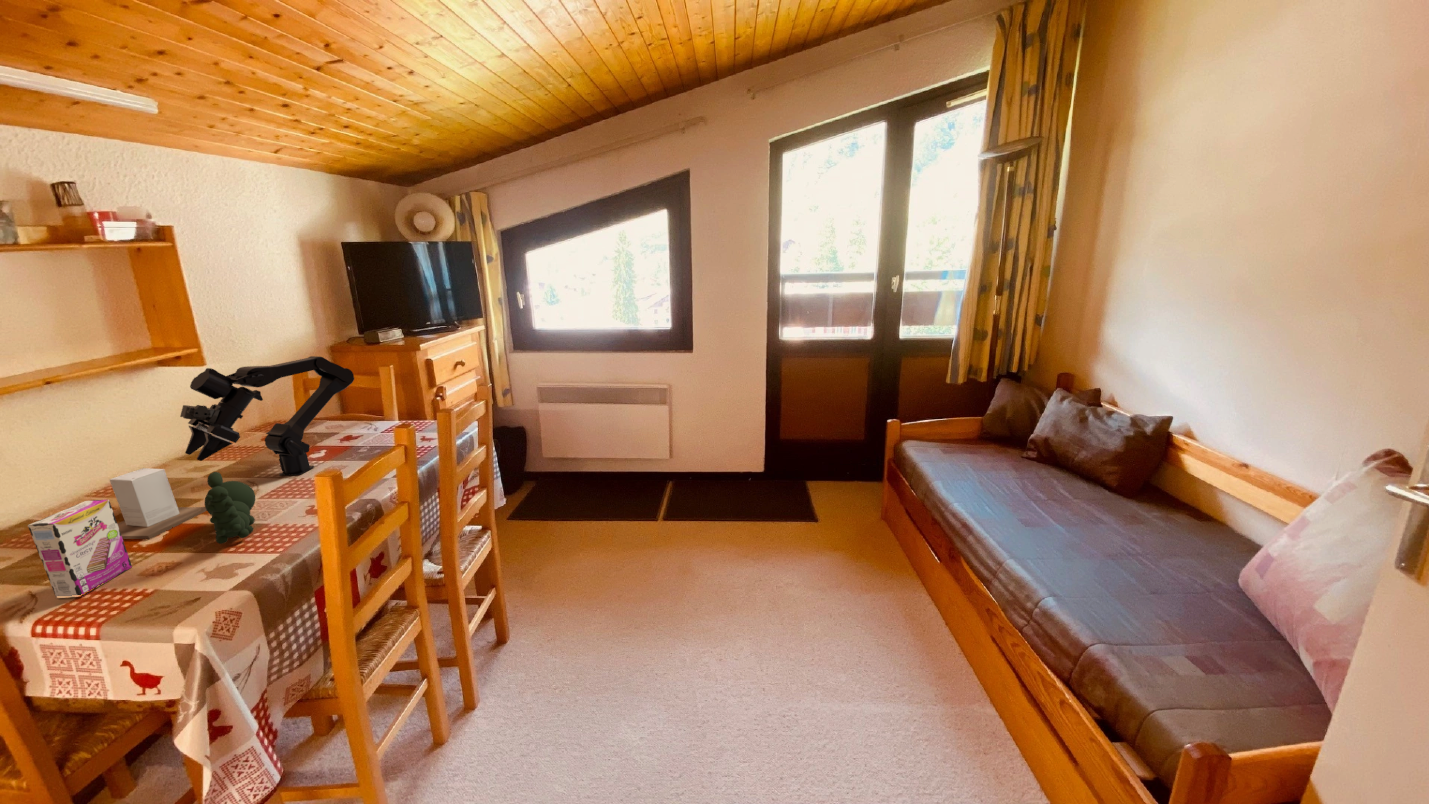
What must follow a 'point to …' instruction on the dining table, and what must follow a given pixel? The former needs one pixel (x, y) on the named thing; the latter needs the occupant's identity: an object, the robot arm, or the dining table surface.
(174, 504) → the supplement box
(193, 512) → the walnut board
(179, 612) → the dining table surface
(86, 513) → the candy bar box
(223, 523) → the toy figurine
